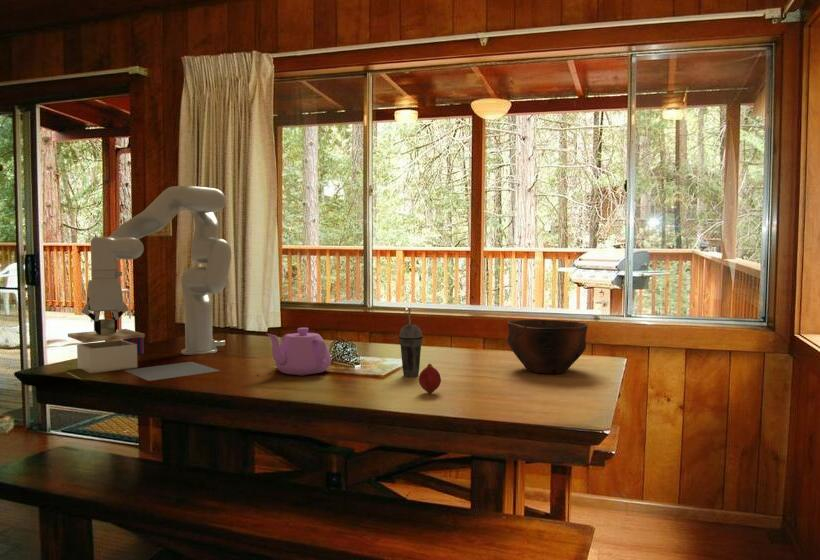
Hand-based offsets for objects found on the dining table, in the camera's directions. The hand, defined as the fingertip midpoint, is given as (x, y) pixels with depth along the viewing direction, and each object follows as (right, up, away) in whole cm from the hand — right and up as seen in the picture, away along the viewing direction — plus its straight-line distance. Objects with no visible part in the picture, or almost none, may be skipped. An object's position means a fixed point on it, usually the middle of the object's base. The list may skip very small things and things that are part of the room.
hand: (106, 332), depth 207 cm
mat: (+23, -12, -6) cm, 27 cm away
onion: (+103, -13, -37) cm, 110 cm away
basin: (0, -12, +1) cm, 12 cm away
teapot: (+63, -12, -8) cm, 64 cm away
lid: (0, -1, 0) cm, 1 cm away
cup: (-5, -11, +29) cm, 31 cm away
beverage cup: (+98, -12, -13) cm, 99 cm away
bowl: (+140, -12, -6) cm, 141 cm away
